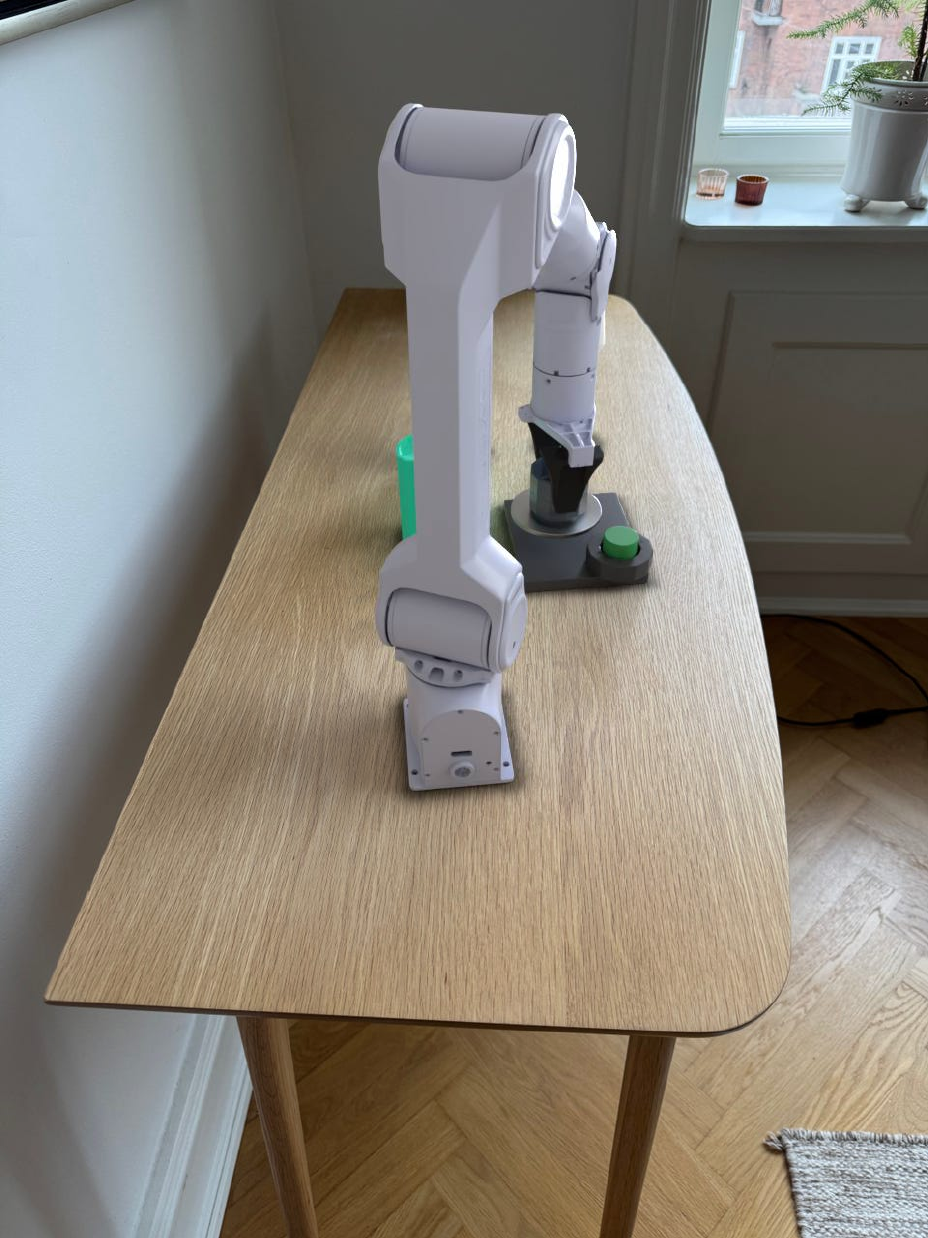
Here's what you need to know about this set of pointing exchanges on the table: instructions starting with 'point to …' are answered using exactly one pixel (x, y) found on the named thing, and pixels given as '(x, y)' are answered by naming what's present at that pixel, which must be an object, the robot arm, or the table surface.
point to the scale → (578, 554)
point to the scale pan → (554, 529)
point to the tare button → (620, 542)
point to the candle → (406, 486)
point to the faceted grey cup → (548, 495)
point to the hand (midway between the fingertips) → (557, 491)
